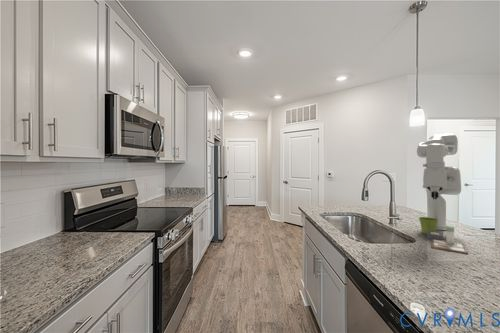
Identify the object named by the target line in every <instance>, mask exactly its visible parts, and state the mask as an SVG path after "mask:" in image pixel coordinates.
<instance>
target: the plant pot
mask: <svg viewBox="0 0 500 333" xmlns="http://www.w3.org/2000/svg"><path fill="white" fill-rule="evenodd" d="M418 219H419V222H420V228H421V232H422V234H426V235H427V231H432V232H436V224H437V221H438V219H435V218H429V217H427V216H421V217H418Z"/></svg>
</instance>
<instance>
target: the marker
mask: <svg viewBox="0 0 500 333" xmlns="http://www.w3.org/2000/svg"><path fill="white" fill-rule="evenodd" d="M445 231H446V232H445V233H446V234H445V236H446V237H445V241H446V243H448V244H454V242H455V227H454V226H449V225H446V230H445Z"/></svg>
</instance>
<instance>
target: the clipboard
mask: <svg viewBox="0 0 500 333" xmlns="http://www.w3.org/2000/svg"><path fill="white" fill-rule="evenodd" d="M431 249H435V250H440V251H441V250H442V251H446V252H451V253H459V254H464V255H468V254H469V252H468V250H467V248H466V245H465V243H462V242H456V241H454V244H448V243H446V240H444V239H443V240H437V239H431Z"/></svg>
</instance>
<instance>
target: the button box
mask: <svg viewBox="0 0 500 333" xmlns="http://www.w3.org/2000/svg"><path fill="white" fill-rule="evenodd" d="M430 232H432V231H427V233H426V240H432V239H437V240H444V233H443V232H439V231H438V232H437V231H435V232H436V233H439V234H440V235H436V234H430Z"/></svg>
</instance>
